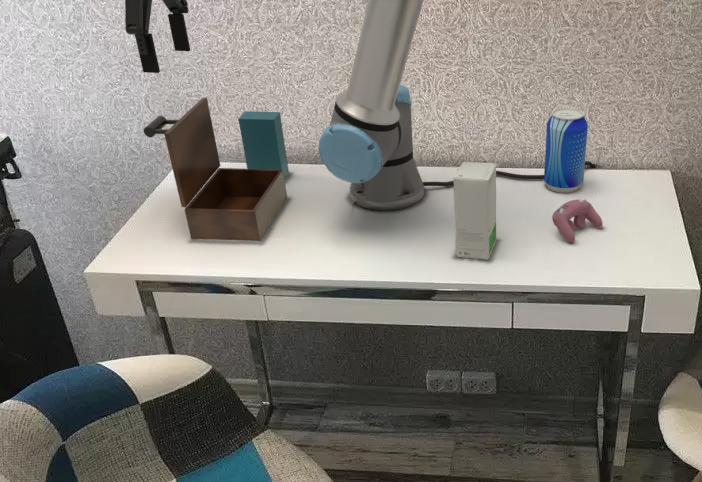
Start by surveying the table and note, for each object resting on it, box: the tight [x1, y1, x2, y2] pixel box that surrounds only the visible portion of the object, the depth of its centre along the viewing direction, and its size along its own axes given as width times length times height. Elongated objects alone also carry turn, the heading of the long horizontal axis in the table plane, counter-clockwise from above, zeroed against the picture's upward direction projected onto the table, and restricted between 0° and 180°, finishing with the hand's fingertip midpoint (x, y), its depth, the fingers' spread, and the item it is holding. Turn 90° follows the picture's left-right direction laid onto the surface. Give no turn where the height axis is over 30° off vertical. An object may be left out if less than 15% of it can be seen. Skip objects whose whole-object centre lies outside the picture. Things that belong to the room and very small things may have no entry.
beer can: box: [543, 107, 589, 194], centre depth 165 cm, size 8×8×16 cm
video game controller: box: [551, 198, 603, 244], centre depth 151 cm, size 10×5×7 cm, turn 135°
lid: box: [143, 97, 221, 208], centre depth 149 cm, size 14×19×8 cm
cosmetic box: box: [452, 161, 497, 260], centre depth 142 cm, size 8×7×16 cm
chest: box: [184, 167, 288, 242], centre depth 154 cm, size 13×19×7 cm
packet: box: [237, 110, 290, 179], centre depth 169 cm, size 8×5×14 cm, turn 87°
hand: (167, 61), depth 144 cm, fingers open, 13 cm apart
